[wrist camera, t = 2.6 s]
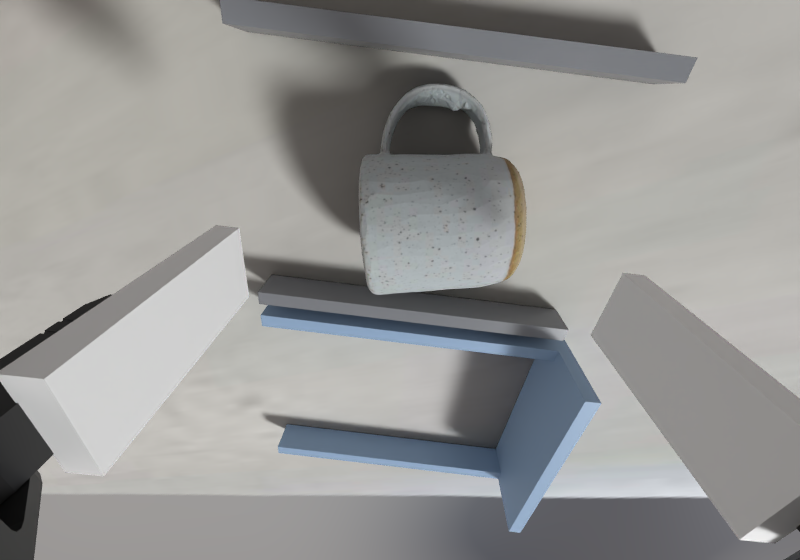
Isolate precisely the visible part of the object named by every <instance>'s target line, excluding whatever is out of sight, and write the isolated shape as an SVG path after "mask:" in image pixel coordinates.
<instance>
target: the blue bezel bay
mask: <svg viewBox="0 0 800 560" xmlns="http://www.w3.org/2000/svg"><path fill="white" fill-rule="evenodd" d="M261 321H262V326H267V327H275V328H284V329H292V330H300V331H308V332H317V333H325V334H333V335H341V336H350V337H358V338H366V339H374V340H383V341H391V342H399V343H407V344H416V345H424V346H432V347H440V348H449V349H457V350H465V351H473V352H482V353H490V354H498V355H506V356H515V357H523V358H531V359H534V362H533V364H532V366H531V369H530V371H529V373H528V375H527V378H526V380H525V382H524V385H523V387H522V389H521V392H520V394H519V396H518V399H517V401H516V403H515V406H514V408H513V410H512V413H511V415H510V417H509V420H508V422H507V424H506V427H505V429H504V431H503V434H502V436H501V438H500V441H499V443H498V445H497V448H496V449H492V448H483V447H475V446H466V445H458V444H450V443H441V442H433V441H424V440H416V439H407V438H399V437H391V436H382V435H374V434H365V433H357V432H348V431H340V430H332V429H323V428H315V427H306V426H298V425H289V424H287V426H286V428H285V431H284V433H283V435H282V438H281V440H280V443H279V445H278V451H279V453H284V454H293V455H301V456H310V457H318V458H327V459H335V460H344V461H352V462H361V463H369V464H378V465H386V466H395V467H403V468H411V469H420V470H428V471H437V472H445V473H454V474H462V475H471V476H479V477H488V478H496V479H498V480H499V485H500V490H501V495H502V499H503V505H504V510H505V514H506V519H507V524H508V529H509V531H511V532H519V533H520V532H521V531H522V529H523V527H524V526H525V524H526V523H527V521H528V519H529V518H530V516H531V515H532V513H533V511H534V510H535V508H536V507H537V505H538V503H539V502H540V500H541V499H542V497H543V496H544V494H545V492H546V491H547V489H548V488H549V486H550V484H551V483H552V481H553V480H554V478H555V476H556V475H557V473H558V472H559V470H560V468H561V467H562V465H563V464H564V462H565V461H566V459H567V457H568V456H569V454H570V453H571V451H572V449H573V448H574V446H575V445H576V443H577V441H578V440H579V438H580V437H581V435H582V433H583V432H584V430H585V429H586V427H587V426H588V424H589V422H590V421H591V419H592V418H593V416H594V414H595V413H596V411H597V410H598V408H599V406H600V405H601V402H600V400H599V399H598V397H597V395H596V393H595V392H594V390H593V388H592V386H591V385H590V383H589V381H588V380H587V378H586V376H585V374H584V373H583V371H582V369H581V368H580V366H579V364H578V362H577V361H576V359H575V357H574V355H573V354H572V352H571V350H570V349H569V347H568V345H567V343H566V342H565V340H564V341H560V340H552V339H544V338H536V337H527V336H519V335H511V334H503V333H494V332H486V331H478V330H470V329H462V328H453V327H445V326H437V325H429V324H421V323H412V322H404V321H396V320H388V319H379V318H371V317H363V316H355V315H347V314H338V313H330V312H322V311H314V310H305V309H297V308H289V307H281V306H273V305H268V306H267V307H266V308H265V310H264V311H263V313H262V314H261Z"/></svg>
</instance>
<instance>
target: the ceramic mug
mask: <svg viewBox="0 0 800 560" xmlns="http://www.w3.org/2000/svg"><path fill="white" fill-rule="evenodd" d="M420 105H421V106H441V107H446V108H449V109H451V110H452V111H457V110H459V109H462V110H463V111H465V112H466V113H467V114H468V116H469V117H470V118H471V120H472V121H473V122H474V124H475V126H476V131H477V134H478V137H479V144H480V154H453V155H426V154H425V155H415V154H396V155H392V154H390V153H389V151H390V144H391V139H392V136H393V132H394V130H395V127H396V125H397V123H398V121H399V120H400V118H401V117H402V115H403V114H404V113H405V112H406V111H407V110H408V109H410V108H415V107H416V106H420ZM491 150H492V133H491V129H490V123H489V120H488V118H487V115H486V112H485V110H484V108H483V106H482V105H481V104H480V103H479V102H478V101H477V100H476V99H475V97H473V96H472V95H471V94H470V93H468V92H467V91H466V90H464V89H461V88H459V87H456V86H453V85H449V84H426V85H421V86H418V87H415V88H413V89H412V90H410V91H408V92H407V93H406V94H405V95H404V96H403V97H402V98H401V99H400V100H399V101H398V102H397V104H396V105H395V106H394V108H393V110H392V111H391V112H390V114H389V117H388V119H387V122H386V125H385V128H384V131H383V137H382V142H381V152H380V153H379V154H371V155H365V156H364V157H363V159H362V162H361V166H360V175H359V223H360V237H361V247H362V256H363V263H364V269H365V276H366V282H367V286H368V288H369V290H370V291H371V292H372V293H373V294H376V295H383V294H393V293H407V292H422V291H435V290H445V289H461V288H475V287H483V286H487V285H491V284H495V283H499V282H502V281H504V280H506V279H508V278H509V277H510V276H511V275H512V274H513V273H514V272H515V270H516V268H517V266H518V265H519V263H520V260H521V257H522V253H523V249H524V244H525V235H526V202H525V193H524V187H523V183H522V179H521V177H520V174H519V172H518V171H517V169H516V168H515V166H514V165H513V164H512V163H511V162H510V161H509V160H507V159H505V158H501V157H496V156H493V155H492V153H491Z"/></svg>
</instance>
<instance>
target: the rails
mask: <svg viewBox="0 0 800 560" xmlns="http://www.w3.org/2000/svg"><path fill="white" fill-rule="evenodd" d="M220 7H221V15H222V22H223V24H226V25H229V26H232V27H235V28H238V29H240V30H243V31H246V32H252V33H260V34H268V35H276V36H283V37H291V38H299V39H307V40H315V41H322V42H330V43H338V44H346V45H353V46H361V47H369V48H377V49H385V50H392V51H400V52H408V53H416V54H423V55H431V56H439V57H447V58H455V59H462V60H470V61H478V62H486V63H493V64H501V65H509V66H517V67H524V68H532V69H540V70H548V71H556V72H563V73H571V74H579V75H587V76H594V77H602V78H610V79H618V80H626V81H633V82H641V83H649V84H669V83H686V81H687V79H688V77H689V75H690V72H691V70H692V68H693V66H694V64H695V62H696V60H697V57H689V56H681V55H674V54H666V53H658V52H650V51H643V50H635V49H627V48H619V47H612V46H604V45H596V44H589V43H581V42H573V41H565V40H558V39H550V38H542V37H534V36H527V35H519V34H511V33H504V32H496V31H488V30H480V29H473V28H465V27H457V26H449V25H442V24H434V23H426V22H419V21H411V20H403V19H395V18H388V17H380V16H372V15H365V14H357V13H349V12H341V11H334V10H326V9H318V8H310V7H303V6H295V5H287V4H280V3H272V2H264V1H256V0H220ZM258 298H259V304H264V305H273V306H281V307H289V308H297V309H305V310H314V311H322V312H330V313H338V314H347V315H355V316H363V317H371V318H379V319H388V320H396V321H404V322H412V323H421V324H429V325H437V326H445V327H453V328H462V329H470V330H478V331H486V332H494V333H503V334H511V335H519V336H527V337H536V338H544V339H552V340H560V341H564V339H565V337H566V335H567V332H568V328H567V327H566V325H565V323H564V322H563V320H562V319H561V317H560V315H559V314H558V312H557V311H556V310H555V309H547V308H539V307H531V306H523V305H514V304H506V303H498V302H490V301H482V300H474V299H465V298H457V297H449V296H441V295H433V294H425V293H416V292H407V293H393V294H383V295H376V294H373V293H372V292H371V291H370V290H369V288H368V287H367V286H359V285H351V284H343V283H335V282H327V281H318V280H310V279H302V278H294V277H286V276H278V275H271V276H270V278H269V279H268V280H267V281H266V283H265V284H264V285H263V286H262V288H261V289H260V290H259V291H258Z"/></svg>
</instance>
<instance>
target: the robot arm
mask: <svg viewBox="0 0 800 560" xmlns="http://www.w3.org/2000/svg"><path fill="white" fill-rule="evenodd" d="M248 298H249V291H248V285H247V278H246V271H245V264H244V257H243V250H242V243H241V237H240V230H239V228H235V227H227V226H218V225H216V226H214V227H213V228H211V229H210V230H208V231H207V232H205V233H204V234H202V235H201V236H199V237H198V238H197V239H195V240H194V241H192V242H191V243H189V244H188V245H186V246H185V247H183V248H182V249H180V250H179V251H177V252H176V253H174V254H173V255H171V256H170V257H168V258H167V259H165V260H164V261H162V262H161V263H159V264H158V265H156V266H155V267H153V268H152V269H150V270H149V271H147V272H146V273H144V274H143V275H141V276H140V277H138V278H137V279H135V280H134V281H132V282H131V283H129V284H128V285H126V286H125V287H123V288H122V289H120V290H119V291H118V292H116V293H115V294H113V295H108V296H105V297H103V298H100V299H98V300H95V301H93V302H90V303H88V304H85V305H83V306H82V307H80V308H79V309H77V310H76V311H74V312H73V313H71V314H69V315H68V316H66V317H65V318H63V321H62V322H57V323H55V324H54V325H52V326H51V327H49V328H48V329H46V330H45V333H44V334H38V335H37V336H35V337H34V338H32V339H31V340H29V341H27V342H26V343H24V344H23V345H21V346H20V347H18V348H17V349H15V350H14V351H12V352H10V353H9V354H7V355H6V356H4V357H3V358H1V359H0V560H34V553H35V544H36V535H37V525H38V517H39V508H40V500H41V491H42V480H41V476H40V473H39V472H38V471H37V470H38V469H39V468H40V467H41V466H42V465H43V464H44V463H45V462H46V461H47V460H48V459H49V458H50V457H51V456H52V455H53V456H54V457H55V459H56V460H57V462H58V463H59V464H60V466H61V467H62V469H63V470H64V471H65V472H66V473H76V474H86V475H96V476H105V474H106V473H107V472H108V471H109V470H110V468H111V467H112V466H113V465H114V463H115V462H116V461H117V460H118V458H119V457H120V456H121V455H122V453H123V452H124V451H125V450H126V448H127V447H128V446H129V445H130V444H131V442H132V441H133V440H134V439H135V437H136V436H137V435H138V434H139V432H140V431H141V430H142V429H143V427H144V426H145V425H146V424H147V423H148V421H149V420H150V419H151V418H152V416H153V415H154V414H155V413H156V411H157V410H158V409H159V408H160V406H161V405H162V404H163V403H164V401H165V400H166V399H167V398H168V397H169V395H170V394H171V393H172V392H173V390H174V389H175V388H176V387H177V385H178V384H179V383H180V382H181V380H182V379H183V378H184V377H185V376H186V374H187V373H188V372H189V371H190V369H191V368H192V367H193V366H194V364H195V363H196V362H197V361H198V359H199V358H200V357H201V356H202V354H203V353H204V352H205V351H206V350H207V348H208V347H209V346H210V345H211V343H212V342H213V341H214V340H215V338H216V337H217V336H218V335H219V333H220V332H221V331H222V330H223V329H224V327H225V326H226V325H227V324H228V322H229V321H230V320H231V319H232V317H233V316H234V315H235V314H236V312H237V311H238V310H239V309H240V307H241V306H242V305H243V304H244V303H245V301H246V300H247V299H248ZM591 336H592V338H593V339H594V340H595V342H596V343H597V344H598V346H599V347H600V349H601V350H602V351H603V353H604V354H605V355H606V357H607V358H608V360H609V361H610V362H611V364H612V365H613V366H614V368H615V369H616V371H617V372H618V373H619V375H620V376H621V378H622V379H623V380H624V382H625V383H626V384H627V386H628V387H629V389H630V390H631V391H632V393H633V394H634V395H635V397H636V398H637V400H638V401H639V402H640V404H641V405H642V406H643V408H644V409H645V411H646V412H647V413H648V415H649V416H650V417H651V419H652V420H653V422H654V423H655V424H656V426H657V427H658V429H659V430H660V431H661V433H662V434H663V435H664V437H665V438H666V440H667V441H668V442H669V444H670V445H671V446H672V448H673V449H674V451H675V452H676V453H677V455H678V456H679V457H680V459H681V460H682V462H683V463H684V464H685V466H686V467H687V468H688V470H689V471H690V473H691V474H692V475H693V477H694V478H695V479H696V481H697V482H698V484H699V485H700V486H701V488H702V489H703V491H704V492H705V493H706V495H707V496H708V497H709V499H710V500H711V501H712V503H713V504H714V506H715V507H716V508H717V510H718V511H719V513H720V514H721V515H722V517H723V518H724V519H725V521H726V522H727V523H728V525H729V526H730V528H731V529H732V530H733V532H734V533H735V535H736V536H737V537H738V539H739V540H746V541H756V542H766V543H776V542H778V541H779V540H780V539H782V538H783V537H785V536H786V535H788V534H789V533H791V532H792V531H794V530H795V529H798V530H799V531H800V399H799V398H798V397H797V396H796V395H794V394H793V393H792V392H791V391H789V390H788V389H787V388H786V387H784V386H783V385H782V384H781V383H779V382H778V381H777V380H776V379H774V378H773V377H772V376H771V375H769V374H768V373H767V372H766V371H764V370H763V369H762V368H761V367H759V366H758V365H757V364H755V363H754V362H753V361H752V360H750V359H749V358H748V357H747V356H745V355H744V354H743V353H742V352H740V351H739V350H738V349H737V348H735V347H734V346H733V345H732V344H730V343H729V342H728V341H727V340H725V339H724V338H723V337H722V336H720V335H719V334H718V333H717V332H715V331H714V330H713V329H711V328H710V327H709V326H708V325H706V324H705V323H704V322H703V321H701V320H700V319H699V318H698V317H696V316H695V315H694V314H693V313H691V312H690V311H689V310H688V309H686V308H685V307H684V306H683V305H681V304H680V303H679V302H678V301H676V300H675V299H674V298H673V297H671V296H670V295H669V294H667V293H666V292H665V291H664V290H662V289H661V288H660V287H659V286H657V285H656V284H655V283H654V282H652V281H651V280H650V279H649V278H647V277H646V276H645V275H636V274H628V273H623V274H622V276H621V278H620V280H619V282H618V284H617V286H616V287H615V289H614V291H613V293H612V295H611V297H610V299H609V301H608V303H607V305H606V307H605V309H604V311H603V313H602V314H601V316H600V318H599V320H598V322H597V324H596V326H595V328H594V330H593V332H592V334H591ZM785 560H800V550H799V551H798V552H796V553H794V554H793V555H791V556H789V557H788V558H786V559H785Z"/></svg>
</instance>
